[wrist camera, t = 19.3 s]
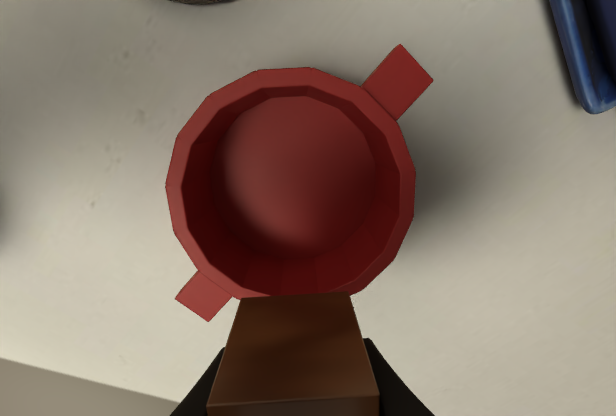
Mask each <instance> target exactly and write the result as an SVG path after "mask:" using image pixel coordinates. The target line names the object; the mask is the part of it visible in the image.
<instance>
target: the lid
mask: <svg viewBox="0 0 616 416" xmlns="http://www.w3.org/2000/svg"><path fill="white" fill-rule="evenodd" d="M170 1H174V2H180V3H188V4H206V3H212V2H218V1H223V0H170Z"/></svg>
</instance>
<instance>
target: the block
mask: <svg viewBox="0 0 616 416" xmlns="http://www.w3.org/2000/svg"><path fill="white" fill-rule="evenodd" d="M379 405H380V393H379V390H378V387H377V384H376V380H375V377H374V374H373V371H372V367H371V364H370V361H369V357H368V354H367V351H366V348H365V344H364V341H363V338H362V335H361V331H360V328H359V325H358V321H357V318H356V315H355V312H354V308H353V305H352V302H351V298H350V295H349V292H347V291H346V292H329V293H312V294H295V295H279V296H262V297H245V298H241V300H240V303H239V306H238V310H237V313H236V316H235V319H234V322H233V325H232V328H231V331H230V334H229V337H228V340H227V343H226V346H225V349H224V353H223V356H222V359H221V362H220V365H219V368H218V371H217V374H216V377H215V380H214V383H213V386H212V389H211V393H210V396H209V399H208V402H207V405H206V408H207V414H208V416H379Z"/></svg>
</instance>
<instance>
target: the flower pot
mask: <svg viewBox="0 0 616 416" xmlns="http://www.w3.org/2000/svg"><path fill="white" fill-rule="evenodd" d="M549 1H550V5H551V9H552V12H553V16H554V20H555V23H556V27H557V30H558V34H559V37H560V41H561V44H562V48H563V51H564V55H565V59H566V62H567V66H568V69H569V73H570V77H571V80H572V83H573V87H574V90H575V93H576V96H577V98H578V100H579V102H580V104H581V106H582V107H583V109H584V110H585V111H586V112H588V113H590V114H599V113H602V112H604V111H607V110H609V109H611V108H613V107H615V106H616V0H549Z"/></svg>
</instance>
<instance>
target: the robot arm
mask: <svg viewBox="0 0 616 416" xmlns="http://www.w3.org/2000/svg"><path fill="white" fill-rule="evenodd" d="M363 341H364V344H365V348H366V351H367V354H368V357H369V361H370V364H371V367H372V371H373V374H374V377H375V380H376V384H377V387H378V390H379V393H380V405H379V416H435V415H434V414H433V413H432V412H431V411H430V410H429V409H428V408H427V407H426V406H425V405H424V404H423V403H422V402H421V401H420V400H419V399H418V398H417V397H416V396H415V395H414V394H413V393H412V392H411V390H410V389H409V388H408V387H407V386H406V385H405V384H404V382H403V381H402V380H401V379H400V378H399V376H398V375H397V374H396V373H395V372H394V370H393V369H392V368H391V367H390V365H389V364H388V363H387V361H386V360H385V359H384V358H383V356H382V355H381V353H380V352H379V351H378V349H377V348H376V346H375V345H374V343H373V342H372V340H370V339H369V338H363ZM224 349H225V347H223V348H222V349H221V351H220V352H219V353H218V355H217V356H216V358H215V359H214V360H213V362H212V363H211V365H210V366H209V367H208V369H207V370H206V371H205V373H204V374H203V375H202V377H201V378H200V379H199V381H198V382H197V383H196V384H195V386H194V387H193V388H192V390H191V391H190V392H189V393H188V395H187V396H186V397H185V398H184V399H183V401H182V402H181V403H180V404H179V405H178V407H177V408H176V409H175V410H174V411H173V412H172V414H171V415H170V416H208V414H207V408H206V405H207V402H208V399H209V396H210V393H211V389H212V386H213V383H214V380H215V377H216V374H217V371H218V368H219V365H220V362H221V359H222V356H223V353H224Z"/></svg>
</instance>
